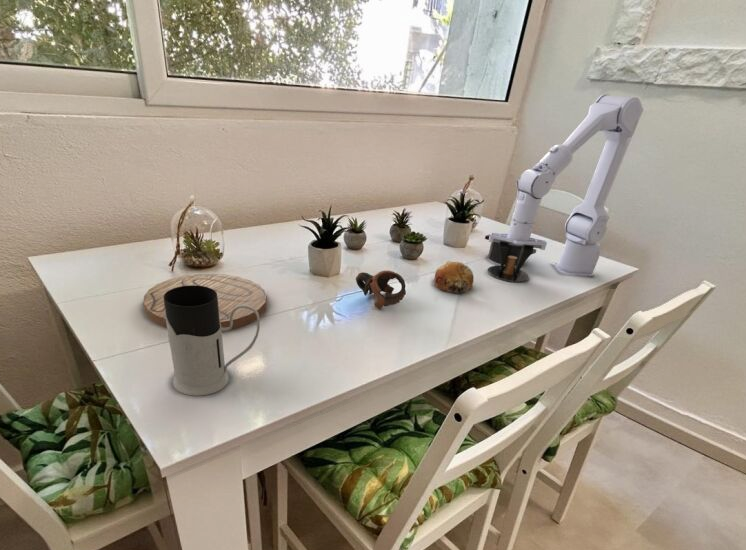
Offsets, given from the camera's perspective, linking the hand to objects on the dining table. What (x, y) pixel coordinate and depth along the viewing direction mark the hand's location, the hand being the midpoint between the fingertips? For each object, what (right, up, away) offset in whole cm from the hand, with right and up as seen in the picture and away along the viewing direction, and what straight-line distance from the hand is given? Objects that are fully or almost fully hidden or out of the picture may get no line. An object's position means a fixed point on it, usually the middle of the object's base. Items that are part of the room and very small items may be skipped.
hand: (508, 271), depth 127 cm
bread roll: (-17, -6, -8) cm, 20 cm away
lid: (0, -1, +1) cm, 1 cm away
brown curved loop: (-37, -12, -19) cm, 43 cm away
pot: (+3, +6, +12) cm, 13 cm away
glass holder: (-65, -31, -50) cm, 88 cm away
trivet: (-74, -14, -28) cm, 81 cm away
